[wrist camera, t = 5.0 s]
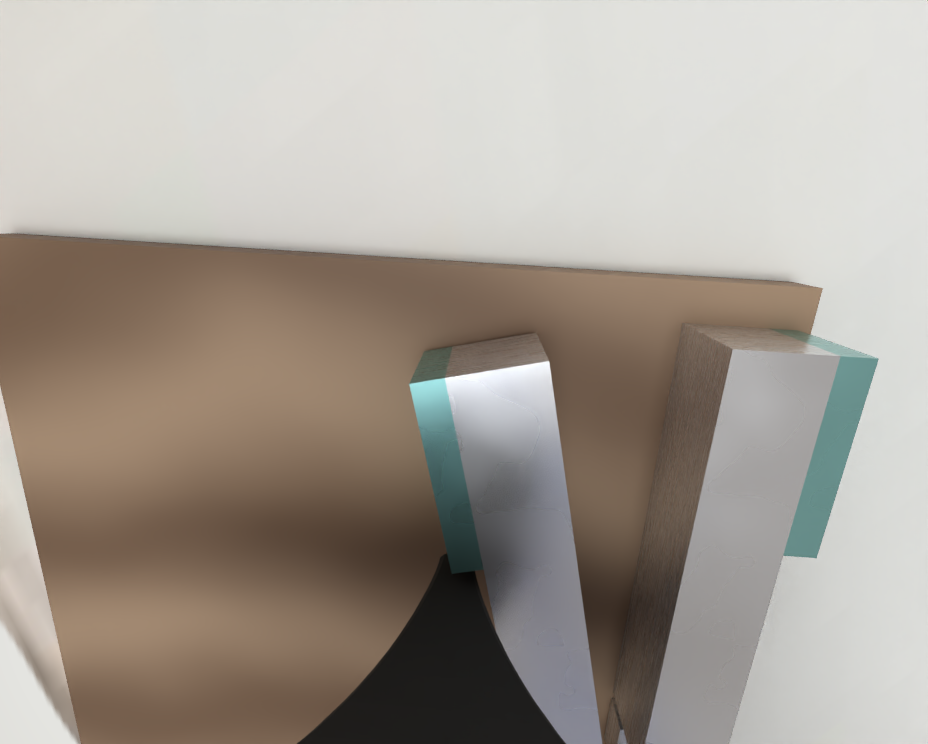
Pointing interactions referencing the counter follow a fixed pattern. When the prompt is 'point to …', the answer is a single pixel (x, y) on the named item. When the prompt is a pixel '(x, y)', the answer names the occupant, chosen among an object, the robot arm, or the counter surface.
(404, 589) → the walnut board
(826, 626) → the counter surface
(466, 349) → the bar
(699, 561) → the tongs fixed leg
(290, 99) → the counter surface
